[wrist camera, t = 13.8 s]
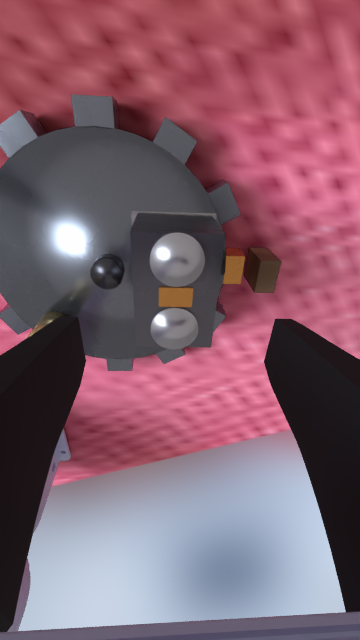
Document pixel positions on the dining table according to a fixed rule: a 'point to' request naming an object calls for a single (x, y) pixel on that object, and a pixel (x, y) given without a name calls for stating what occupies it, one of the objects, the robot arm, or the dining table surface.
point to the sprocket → (93, 222)
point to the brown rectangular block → (262, 270)
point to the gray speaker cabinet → (175, 278)
